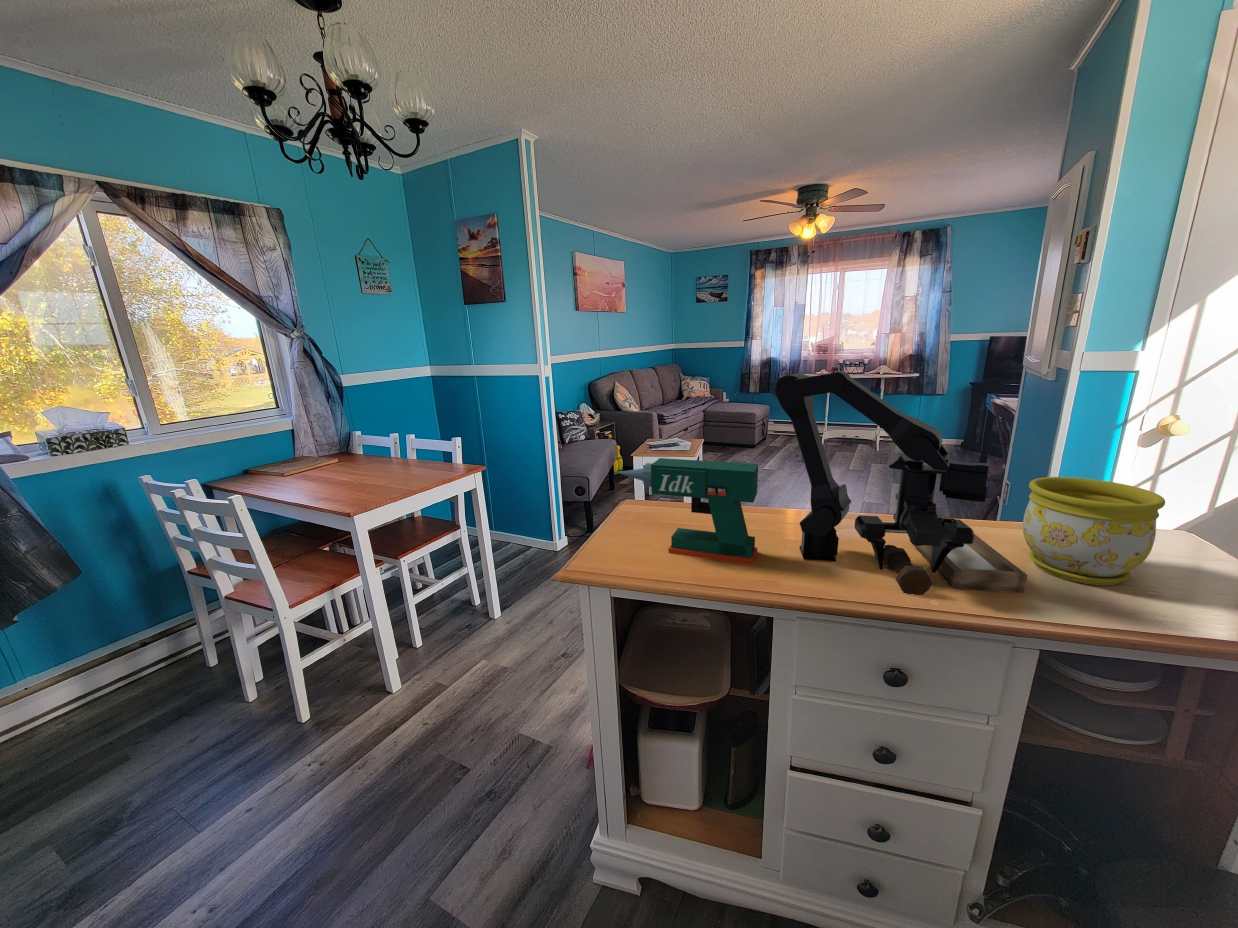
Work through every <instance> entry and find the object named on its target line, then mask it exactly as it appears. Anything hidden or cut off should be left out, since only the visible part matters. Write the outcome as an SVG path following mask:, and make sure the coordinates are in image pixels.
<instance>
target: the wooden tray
mask: <svg viewBox="0 0 1238 928" xmlns="http://www.w3.org/2000/svg"><path fill="white" fill-rule="evenodd" d="M914 546H915V547H916V548H915V547H914ZM914 546H913V547H914V548H915V549H916V550H917V552H918V553H919V552H920V553H921V554H922V555H921V554H920V553H919V554H920V555H921V556H922V557H923V558H924V559H925V561H927V563H929V565H930V566H931V555H932V547H933V546H928V545H922V546H916V545H914ZM936 572H937V574H938V575H939V576H940V577H941V578H942V579H943V580H944V581H945V582H946V583H947V584H948V585H949V587H950V588H951V589H956V590H957V589H958V590H960V589H961V590H970V591H971V590H974V591H986V592H989V591H990V592H1002V593H1017V594H1024V593H1025V591H1026V585H1027V579H1028V574H1027V573H1026V572H1024V571H1023V570H1021V569H1020V568H1019V567H1018V566H1017V565H1015V564H1014V563H1013V562H1011V561H1010V560H1009V559H1007V558H1006V557H1005V556H1003V555H1002V554H1001V553H1000V552H998V551H997V550H996V549H994V548H993V547H992V546H991V545H989V544H988V543H987V542H986V541H984V540H983V539H981V538H980V537H979V536H977V534H975V533H974V540H973V543H972V544H964V546H963V547H958V548H955V549H953V550H951V551H950V553H949V554H948V555H947V556H946V557H945V559H944V560H943V562H942V563H941V565H940V566H939V568H938V569H937V571H936Z"/></svg>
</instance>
